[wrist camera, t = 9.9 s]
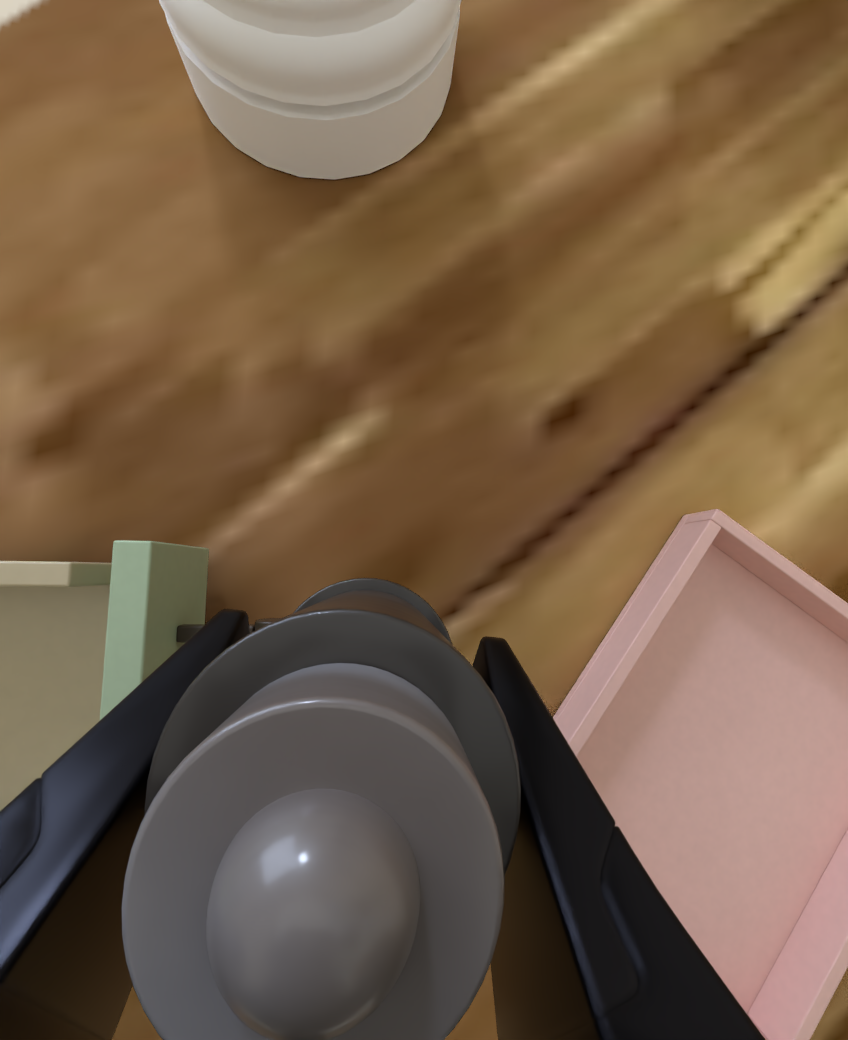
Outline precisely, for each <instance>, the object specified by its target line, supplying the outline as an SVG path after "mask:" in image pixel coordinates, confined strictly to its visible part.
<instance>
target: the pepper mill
mask: <svg viewBox="0 0 848 1040" xmlns="http://www.w3.org/2000/svg"><path fill="white" fill-rule="evenodd" d="M520 804H521V783H520V772H519V763H518V758H517V754H516V749H515V745H514V740H513V737H512V734H511V731H510V729H509V726H508V723H507V720H506V717H505V715H504V713H503V711H502V709H501V707H500V705H499V703H498V701H497V699H496V698H495V696H494V694H493V693H492V691H491V690H490V688H489V687H488V685H487V684H486V682H485V681H484V679H483V678H482V676H481V675H480V674H479V673H478V672H477V671H476V670H475V668H474V667H473V666H472V665H471V664H470V663H469V662H468V661H467V660H466V658H465V657H464V656H463V655H462V654H461V653H460V652H459V651H458V650H457V649H456V648H455V647H454V646H453V645H452V642H451V639H450V637H449V634H448V631H447V630H446V628H445V626H444V624H443V622H442V620H441V619H440V617H439V616H438V614H437V613H436V612H435V611H434V609H433V608H432V607H431V606H430V605H429V604H428V603H427V602H426V601H425V600H423V599H422V598H421V597H420V596H419V595H417V594H416V593H414V592H412V591H411V590H409V589H408V588H406V587H404V586H401V585H399V584H397V583H394V582H391V581H388V580H382V579H377V578H359V579H351V580H346V581H341V582H338V583H335V584H333V585H330V586H328V587H326V588H324V589H322V590H320V591H318V592H317V593H315V594H314V595H312V596H311V597H309V598H308V599H307V600H306V601H304V602H303V603H302V604H301V605H300V606H299V607H298V608H297V609H296V610H295V612H294V613H293V614H291V615H288V616H286V617H284V618H281V619H279V620H276V621H274V622H272V623H269V624H267V625H265V626H263V627H261V628H260V629H258V630H256V631H254V632H252V633H250V634H248V635H246V636H245V637H243V638H242V639H240V640H239V641H237V642H236V643H234V644H233V645H231V646H230V647H228V648H227V649H226V650H224V651H223V652H222V653H221V654H220V655H219V656H218V657H216V658H215V659H214V660H213V661H212V662H211V663H210V664H208V665H207V666H206V667H205V669H204V670H203V671H202V672H201V673H200V674H199V675H198V676H197V678H196V679H195V680H194V681H193V682H192V683H191V684H190V685H189V687H188V688H187V690H186V691H185V693H184V694H183V696H182V697H181V699H180V700H179V701H178V703H177V704H176V706H175V707H174V709H173V711H172V713H171V715H170V717H169V719H168V721H167V723H166V725H165V727H164V729H163V731H162V733H161V736H160V739H159V742H158V744H157V747H156V750H155V752H154V755H153V759H152V764H151V768H150V772H149V776H148V781H147V791H146V800H145V816H144V818H143V820H142V822H141V824H140V827H139V830H138V832H137V835H136V838H135V841H134V843H133V846H132V849H131V853H130V857H129V861H128V866H127V870H126V874H125V881H124V890H123V899H122V937H123V944H124V951H125V957H126V963H127V966H128V970H129V973H130V977H131V980H132V984H133V987H134V989H135V992H136V994H137V996H138V998H139V1001H140V1003H141V1005H142V1007H143V1010H144V1012H145V1013H146V1015H147V1017H148V1018H149V1020H150V1021H151V1023H152V1025H153V1026H154V1028H155V1029H156V1031H157V1033H158V1034H159V1035H160V1037H161V1038H162V1039H163V1040H444V1039H445V1038H446V1037H447V1036H448V1034H449V1033H450V1032H451V1031H452V1030H453V1029H454V1028H455V1026H456V1025H457V1023H458V1022H459V1021H460V1019H461V1018H462V1016H463V1015H464V1014H465V1012H466V1011H467V1009H468V1008H469V1006H470V1005H471V1003H472V1001H473V999H474V997H475V996H476V994H477V992H478V990H479V988H480V986H481V985H482V982H483V980H484V977H485V975H486V972H487V970H488V968H489V965H490V963H491V960H492V957H493V953H494V950H495V946H496V942H497V939H498V935H499V931H500V926H501V920H502V913H503V906H504V883H505V876H504V875H505V873H506V870H507V868H508V866H509V863H510V860H511V856H512V852H513V849H514V845H515V841H516V838H517V831H518V824H519V818H520Z"/></svg>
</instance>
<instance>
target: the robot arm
mask: <svg viewBox="0 0 848 1040" xmlns="http://www.w3.org/2000/svg"><path fill="white" fill-rule="evenodd" d="M248 634H250V629H249V621H248V615H247V613H246V612H245V611H243V610H234V609H223V610H221V611H219V612H218V613H217V614H216V615H215V616H214V617H213V618H212V619H211V620H210V621H208V622H207V623H206V624H205V625H204V626H203V627H202V628H201V629H200V630H199V631H197V632H196V633H195V634H194V635H193V636H192V637H191V638H190V639H189V640H188V641H187V642H185V643H184V644H183V645H182V646H181V647H180V648H179V649H178V650H177V651H176V652H174V653H173V654H172V655H171V656H170V657H169V658H168V659H167V660H166V661H165V662H164V663H162V664H161V665H160V666H159V667H158V668H157V669H156V670H155V671H154V672H153V673H151V674H150V675H149V676H148V677H147V678H146V679H145V680H144V681H143V682H142V683H141V684H139V685H138V686H137V687H136V688H135V689H134V690H133V691H132V692H131V693H130V694H128V695H127V696H126V697H125V698H124V699H123V700H122V701H121V702H120V703H119V704H118V705H116V706H115V707H114V708H113V709H112V710H111V711H110V712H109V713H108V714H107V715H105V716H104V717H103V718H102V719H101V720H100V721H99V722H98V723H97V724H96V725H95V726H93V727H92V728H91V729H90V730H89V731H88V732H87V733H86V734H85V735H84V736H82V737H81V738H80V739H79V740H78V741H77V742H76V743H75V744H74V745H73V746H72V747H70V748H69V749H68V750H67V751H66V752H65V753H64V754H63V755H62V756H61V757H59V758H58V759H57V760H56V761H55V762H54V763H53V764H52V765H51V766H50V767H49V768H47V769H46V770H45V771H44V772H43V773H42V775H41V778H36V779H35V780H34V781H33V782H32V783H31V784H30V785H28V786H27V787H26V788H25V789H24V790H23V791H22V792H21V793H20V794H19V795H18V796H16V797H15V798H14V799H13V800H12V801H11V802H10V803H9V804H8V805H6V806H5V807H4V808H3V809H2V810H1V811H0V1040H112V1038H113V1035H114V1033H115V1030H116V1027H117V1025H118V1022H119V1020H120V1017H121V1014H122V1012H123V1009H124V1006H125V1004H126V1001H127V999H128V996H129V993H130V991H131V988H132V986H133V984H132V980H131V977H130V973H129V970H128V966H127V963H126V957H125V951H124V944H123V937H122V899H123V890H124V881H125V874H126V870H127V866H128V861H129V857H130V853H131V849H132V846H133V843H134V841H135V838H136V835H137V832H138V830H139V827H140V824H141V822H142V820H143V818H144V816H145V800H146V791H147V781H148V776H149V772H150V768H151V764H152V759H153V755H154V752H155V750H156V747H157V744H158V742H159V739H160V736H161V733H162V731H163V729H164V727H165V725H166V723H167V721H168V719H169V717H170V715H171V713H172V711H173V709H174V707H175V706H176V704H177V703H178V701H179V700H180V699H181V697H182V696H183V694H184V693H185V691H186V690H187V688H188V687H189V685H190V684H191V683H192V682H193V681H194V680H195V679H196V678H197V676H198V675H199V674H200V673H201V672H202V671H203V670H204V669H205V667H206V666H207V665H208V664H210V663H211V662H212V661H213V660H214V659H215V658H216V657H218V656H219V655H220V654H221V653H222V652H223V651H224V650H226V649H227V648H228V647H230V646H231V645H233V644H234V643H236V642H237V641H239V640H240V639H242V638H243V637H245V636H246V635H248ZM473 667H474V668H475V670H476V671H477V672H478V673H479V674H480V675H481V676H482V678H483V679H484V681H485V682H486V684H487V685H488V687H489V688H490V690H491V691H492V693H493V694H494V696H495V698H496V699H497V701H498V703H499V705H500V707H501V709H502V711H503V713H504V715H505V717H506V720H507V723H508V726H509V729H510V731H511V734H512V737H513V740H514V745H515V749H516V754H517V758H518V763H519V772H520V783H521V804H520V818H519V824H518V831H517V838H516V841H515V845H514V849H513V852H512V856H511V860H510V863H509V866H508V868H507V870H506V873H505V875H504V876H505V883H504V906H503V913H502V920H501V926H500V931H499V935H498V939H497V942H496V946H495V950H494V953H493V957H492V960H491V972H492V982H493V993H494V1003H495V1013H496V1024H497V1034H498V1040H766V1039H765V1038H764V1037H763V1035H762V1034H761V1033H760V1031H759V1030H758V1029H757V1027H756V1026H755V1025H754V1023H753V1022H752V1020H751V1019H750V1018H749V1016H748V1015H747V1013H746V1012H745V1011H744V1009H743V1008H742V1007H741V1005H740V1004H739V1002H738V1001H737V1000H736V998H735V997H734V995H733V994H732V993H731V991H730V990H729V989H728V987H727V986H726V984H725V983H724V982H723V980H722V979H721V977H720V976H719V975H718V973H717V972H716V971H715V969H714V968H713V966H712V965H711V964H710V962H709V961H708V959H707V958H706V957H705V955H704V954H703V953H702V951H701V950H700V948H699V947H698V946H697V944H696V943H695V941H694V940H693V939H692V937H691V936H690V935H689V933H688V932H687V930H686V929H685V928H684V926H683V925H682V923H681V922H680V920H679V919H678V918H677V916H676V915H675V913H674V912H673V910H672V909H671V907H670V906H669V905H668V903H667V902H666V900H665V899H664V897H663V896H662V895H661V893H660V892H659V890H658V889H657V887H656V886H655V884H654V883H653V881H652V879H651V878H650V876H649V875H648V873H647V872H646V870H645V868H644V867H643V865H642V864H641V862H640V861H639V859H638V857H637V856H636V854H635V853H634V851H633V849H632V848H631V846H630V844H629V843H628V841H627V839H626V838H625V836H624V834H623V833H622V831H621V829H620V828H619V827H618V826H615V820H614V818H613V817H612V815H611V813H610V812H609V810H608V808H607V807H606V805H605V803H604V802H603V800H602V798H601V797H600V795H599V793H598V792H597V790H596V788H595V787H594V785H593V784H592V782H591V780H590V779H589V777H588V775H587V774H586V772H585V770H584V769H583V767H582V765H581V764H580V762H579V760H578V759H577V757H576V755H575V754H574V752H573V750H572V749H571V747H570V746H569V744H568V742H567V741H566V739H565V737H564V736H563V734H562V732H561V731H560V729H559V727H558V726H557V724H556V722H555V721H554V719H553V717H552V716H551V714H550V712H549V711H548V709H547V708H546V706H545V704H544V703H543V701H542V699H541V698H540V696H539V694H538V693H537V691H536V689H535V688H534V686H533V684H532V683H531V681H530V679H529V678H528V676H527V674H526V673H525V671H524V670H523V668H522V666H521V665H520V663H519V661H518V660H517V658H516V656H515V655H514V653H513V651H512V650H511V648H510V646H509V645H508V643H507V642H506V641H505V640H504V639H502V638H496V637H483V638H482V639H481V641H480V644H479V647H478V650H477V654H476V657H475V660H474V663H473Z"/></svg>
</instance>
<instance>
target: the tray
mask: <svg viewBox="0 0 848 1040" xmlns="http://www.w3.org/2000/svg"><path fill="white" fill-rule="evenodd" d="M553 719H554V721H555V722H556V724H557V726H558V727H559V729H560V731H561V732H562V734H563V736H564V737H565V739H566V741H567V742H568V744H569V746H570V747H571V749H572V750H573V752H574V754H575V755H576V757H577V759H578V760H579V762H580V764H581V765H582V767H583V769H584V770H585V772H586V774H587V775H588V777H589V779H590V780H591V782H592V784H593V785H594V787H595V788H596V790H597V792H598V793H599V795H600V797H601V798H602V800H603V802H604V803H605V805H606V807H607V808H608V810H609V812H610V813H611V815H612V817H613V818H614V820H615V826H618V827H619V828H620V829H621V831H622V833H623V834H624V836H625V838H626V839H627V841H628V843H629V844H630V846H631V848H632V849H633V851H634V853H635V854H636V856H637V857H638V859H639V861H640V862H641V864H642V865H643V867H644V868H645V870H646V872H647V873H648V875H649V876H650V878H651V879H652V881H653V883H654V884H655V886H656V887H657V889H658V890H659V892H660V893H661V895H662V896H663V897H664V899H665V900H666V902H667V903H668V905H669V906H670V907H671V909H672V910H673V912H674V913H675V915H676V916H677V918H678V919H679V920H680V922H681V923H682V925H683V926H684V928H685V929H686V930H687V932H688V933H689V935H690V936H691V937H692V939H693V940H694V941H695V943H696V944H697V946H698V947H699V948H700V950H701V951H702V953H703V954H704V955H705V957H706V958H707V959H708V961H709V962H710V964H711V965H712V966H713V968H714V969H715V971H716V972H717V973H718V975H719V976H720V977H721V979H722V980H723V982H724V983H725V984H726V986H727V987H728V989H729V990H730V991H731V993H732V994H733V995H734V997H735V998H736V1000H737V1001H738V1002H739V1004H740V1005H741V1007H742V1008H743V1009H744V1011H745V1012H746V1013H747V1015H748V1016H749V1018H750V1019H751V1020H752V1022H753V1023H754V1025H755V1026H756V1027H757V1029H758V1030H759V1031H760V1033H761V1034H762V1035H763V1037H764V1038H765V1039H766V1040H810V1039H811V1037H812V1035H813V1033H814V1031H815V1029H816V1027H817V1025H818V1023H819V1021H820V1019H821V1017H822V1016H823V1014H824V1012H825V1010H826V1008H827V1006H828V1004H829V1002H830V1000H831V998H832V996H833V994H834V992H835V991H836V989H837V987H838V985H839V983H840V981H841V979H842V977H843V975H844V973H845V971H846V969H847V968H848V603H846V602H845V601H844V600H842V599H841V598H840V597H838V596H837V595H835V594H834V593H833V592H831V591H830V590H829V589H827V588H826V587H825V586H823V585H822V584H820V583H819V582H818V581H816V580H815V579H814V578H812V577H811V576H809V575H808V574H807V573H805V572H804V571H803V570H801V569H800V568H798V567H797V566H796V565H794V564H793V563H792V562H790V561H789V560H788V559H786V558H785V557H783V556H782V555H781V554H779V553H778V552H777V551H775V550H774V549H772V548H771V547H770V546H768V545H767V544H766V543H764V542H763V541H761V540H760V539H759V538H757V537H756V536H755V535H753V534H752V533H751V532H749V531H748V530H746V529H745V528H744V527H742V526H741V525H740V524H738V523H737V522H735V521H734V520H733V519H731V518H730V517H729V516H727V515H726V514H724V513H723V512H722V511H720V510H719V509H714V510H709V511H703V512H698V513H693V514H687V515H684V516H683V517H682V519H681V520H680V522H679V523H678V525H677V526H676V528H675V530H674V531H673V533H672V534H671V536H670V537H669V539H668V540H667V542H666V543H665V545H664V547H663V548H662V550H661V551H660V553H659V554H658V556H657V557H656V559H655V560H654V562H653V564H652V565H651V567H650V568H649V570H648V571H647V573H646V574H645V576H644V577H643V579H642V581H641V582H640V584H639V585H638V587H637V588H636V590H635V591H634V593H633V594H632V596H631V598H630V599H629V601H628V602H627V604H626V605H625V607H624V608H623V610H622V611H621V613H620V615H619V616H618V618H617V619H616V621H615V622H614V624H613V625H612V627H611V628H610V630H609V632H608V633H607V635H606V636H605V638H604V639H603V641H602V642H601V644H600V645H599V647H598V649H597V650H596V652H595V653H594V655H593V656H592V658H591V659H590V661H589V662H588V664H587V666H586V667H585V669H584V670H583V672H582V673H581V675H580V676H579V678H578V680H577V681H576V683H575V684H574V686H573V687H572V689H571V690H570V692H569V693H568V695H567V697H566V698H565V700H564V701H563V703H562V704H561V706H560V707H559V709H558V710H557V712H556V714H555V715H554V717H553Z"/></svg>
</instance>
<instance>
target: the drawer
mask: <svg viewBox="0 0 848 1040" xmlns="http://www.w3.org/2000/svg"><path fill="white" fill-rule="evenodd" d="M208 558H209V549H208V548H201V547H193V546H186V545H178V544H170V543H162V542H154V541H124V540H116V541H114V543H113V555H112V563H92V562H46V561H0V811H1V810H2V809H3V808H4V807H5V806H6V805H8V804H9V803H10V802H11V801H12V800H13V799H14V798H15V797H16V796H18V795H19V794H20V793H21V792H22V791H23V790H24V789H25V788H26V787H27V786H28V785H30V784H31V783H32V782H33V781H34V780H35V779H36V778H41V775H42V773H43V772H44V771H45V770H46V769H47V768H49V767H50V766H51V765H52V764H53V763H54V762H55V761H56V760H57V759H58V758H59V757H61V756H62V755H63V754H64V753H65V752H66V751H67V750H68V749H69V748H70V747H72V746H73V745H74V744H75V743H76V742H77V741H78V740H79V739H80V738H81V737H82V736H84V735H85V734H86V733H87V732H88V731H89V730H90V729H91V728H92V727H93V726H95V725H96V724H97V723H98V722H99V721H100V720H101V719H102V718H103V717H104V716H105V715H107V714H108V713H109V712H110V711H111V710H112V709H113V708H114V707H115V706H116V705H118V704H119V703H120V702H121V701H122V700H123V699H124V698H125V697H126V696H127V695H128V694H130V693H131V692H132V691H133V690H134V689H135V688H136V687H137V686H138V685H139V684H141V683H142V682H143V681H144V680H145V679H146V678H147V677H148V676H149V675H150V674H151V673H153V672H154V671H155V670H156V669H157V668H158V667H159V666H160V665H161V664H162V663H164V662H165V661H166V660H167V659H168V658H169V657H170V656H171V655H172V654H173V653H174V652H176V651H177V650H178V649H179V648H180V647H181V646H182V645H183V644H184V643H185V642H187V641H188V640H189V639H190V638H191V637H192V636H193V635H194V634H195V633H196V632H197V631H199V630H200V629H201V628H202V627H203V626H204V625H205V609H206V592H207V575H208ZM279 619H281V618H269V619H259V620H256V622H255V625H249V629H250V633H252V632H254V631H256V630H258V629H260V628H261V627H263V626H265V625H267V624H269V623H272V622H274V621H276V620H279Z"/></svg>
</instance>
